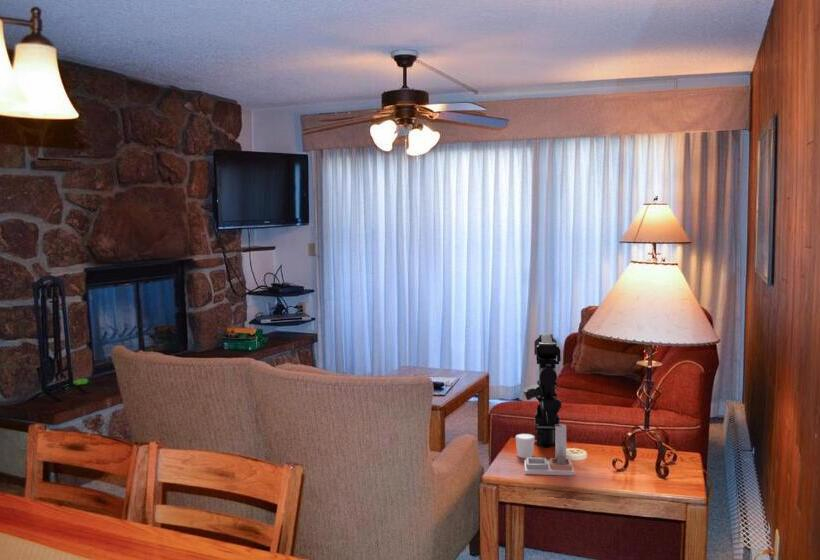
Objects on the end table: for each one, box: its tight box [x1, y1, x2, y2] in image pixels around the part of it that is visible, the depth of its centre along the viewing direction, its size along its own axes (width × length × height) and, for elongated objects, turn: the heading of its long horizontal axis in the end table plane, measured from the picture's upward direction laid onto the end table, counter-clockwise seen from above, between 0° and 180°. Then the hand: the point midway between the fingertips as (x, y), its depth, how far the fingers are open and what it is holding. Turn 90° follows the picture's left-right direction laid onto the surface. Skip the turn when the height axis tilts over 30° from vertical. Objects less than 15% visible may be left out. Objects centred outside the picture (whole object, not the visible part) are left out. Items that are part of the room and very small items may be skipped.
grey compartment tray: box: [523, 457, 575, 476], centre depth 249 cm, size 10×16×3 cm, turn 83°
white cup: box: [515, 433, 536, 459], centre depth 263 cm, size 7×7×7 cm
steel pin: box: [554, 423, 567, 465], centre depth 248 cm, size 4×4×14 cm
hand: (547, 421), depth 259 cm, fingers open, 9 cm apart
